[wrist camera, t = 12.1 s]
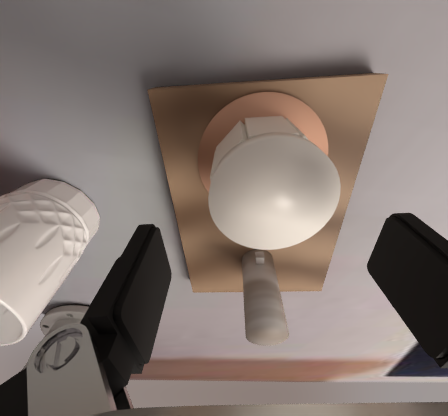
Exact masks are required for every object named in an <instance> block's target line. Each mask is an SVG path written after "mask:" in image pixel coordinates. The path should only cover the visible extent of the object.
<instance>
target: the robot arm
mask: <svg viewBox="0 0 448 416" xmlns="http://www.w3.org/2000/svg"><path fill="white" fill-rule="evenodd" d="M367 269H368V272H369V273H370V275H371V276H372V278H373V279H374V280H375V282H376V283H377V285H378V286H379V287H380V289H381V290H382V292H383V293H384V294H385V296H386V297H387V299H388V300H389V301H390V303H391V304H392V306H393V307H394V308H395V310H396V311H397V313H398V314H399V315H400V317H401V318H402V320H403V321H404V322H405V324H406V325H407V327H408V328H409V330H410V331H411V332H412V334H413V335H414V337H415V338H416V339H417V341H418V342H419V344H420V345H421V346H422V348H423V349H424V351H425V352H426V353H427V354H428V355H429V356H430V357H432V358H434V360H435V361H436V362H437V364H438V365H439V367H440V368H448V240H446V239H445V238H444V237H442V236H441V235H440V234H438V233H437V232H436V231H434V230H433V229H432V228H430V227H429V226H428V225H427V224H425V223H424V222H423V221H421V220H420V219H419V218H417V217H416V216H415V215H413V214H411V213H395V214H392V215H391V216H390V217H389V218H387V219H386V221H385V223H384V225H383V228H382V230H381V233H380V235H379V237H378V240H377V242H376V244H375V247H374V249H373V252H372V254H371V256H370V259H369V261H368V264H367ZM170 281H171V269H170V265H169V262H168V258H167V254H166V251H165V247H164V243H163V240H162V236H161V232H160V229H159V228H158V227H155V225H154V224H144V225H139V226H138V227H137V229H136V231H135V232H134V234H133V236H132V238H131V239H130V241H129V243H128V245H127V247H126V248H125V250H124V252H123V254H122V255H121V257H119V258H118V259H117V260H116V261H115V263H114V265H113V267H112V268H111V270H110V272H109V274H108V275H107V277H106V279H105V280H104V282H103V284H102V286H101V287H100V289H99V291H98V293H97V294H96V296H95V298H94V299H93V301H92V303H91V305H90V306H89V307H88V306H80V305H66V306H60V307H56V308H53V309H51V310H49V311H48V312H47V313H46V314H45V316H44V317H43V319H42V320H41V322H40V327H41V330H42V331H43V333H44V335H45V337H44V339H43V340H42V341H41V342H40V343H39V344H38V345H37V347H36V348H35V350H34V351H33V352H32V354H31V356H30V358H29V360H28V362H27V363H26V365H25V366H24V368H23V369H22V371H21V372H19V373H18V374H16V375H15V376H13V377H12V378H10V379H9V380H7V381H6V382H4V383H3V384H1V385H0V416H448V402H413V403H412V402H411V403H336V404H335V403H333V404H331V403H330V404H267V405H266V404H264V405H210V406H179V407H178V406H177V407H154V408H153V407H152V408H135V409H134V408H133V405H132V402H131V399H130V397H129V394H128V391H127V389H126V385H127V384H128V381H129V378H130V375H131V374H142V370H143V366H144V364H147V363H148V362H149V360H150V357H151V353H152V349H153V346H154V342H155V338H156V334H157V330H158V327H159V323H160V319H161V315H162V311H163V308H164V304H165V300H166V296H167V292H168V289H169V285H170Z"/></svg>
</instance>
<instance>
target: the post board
mask: <svg viewBox="0 0 448 416" xmlns="http://www.w3.org/2000/svg"><path fill="white" fill-rule="evenodd" d="M387 77H388V74H381V73H367V74H352V75H336V76H321V77H306V78H291V79H276V80H261V81H245V82H230V83H215V84H200V85H185V86H169V87H155V88H151V89H148V95H149V99H150V103H151V108H152V112H153V117H154V121H155V126H156V130H157V134H158V139H159V143H160V148H161V152H162V157H163V161H164V166H165V170H166V174H167V179H168V183H169V188H170V192H171V197H172V201H173V205H174V210H175V214H176V219H177V223H178V228H179V232H180V236H181V241H182V245H183V250H184V254H185V259H186V263H187V268H188V272H189V276H190V281H191V285H192V290H193V292H244V311H245V330H246V338H247V340H248V341H250V342H251V343H253V344H257V345H262V346H270V345H276V344H280V343H282V342H284V341H285V340H286V339H287V338H288V337H289V332H288V327H287V322H286V318H285V313H284V308H283V304H282V299H281V294H280V291H321V290H322V287H323V283H324V280H325V277H326V274H327V271H328V267H329V264H330V261H331V258H332V254H333V251H334V248H335V245H336V241H337V238H338V235H339V232H340V229H341V225H342V222H343V219H344V216H345V212H346V209H347V206H348V203H349V199H350V196H351V193H352V190H353V187H354V183H355V180H356V177H357V174H358V170H359V167H360V164H361V161H362V157H363V154H364V151H365V148H366V145H367V141H368V138H369V135H370V132H371V128H372V125H373V122H374V119H375V115H376V112H377V109H378V106H379V103H380V99H381V96H382V93H383V90H384V86H385V83H386V80H387ZM268 116H283V117H284V118H285V119H286V118H288V119H289V120H290V121H291V122H292V123H293V124H294V125H295V126H296V127H297V128H298V129H299V130H300V131H301V132H302V133H303V134H304V135H305V136H306V137H307V138H308V140H309V141H311V142H312V143H314V144H315V145H316V146H317V147H318V148H319V149H321V150H322V151H323V152H324V153H325V154H326V155H327V156H328V157H329V158H330V160H331V161H332V162H333V164H334V166H335V167H336V169H337V172H338V175H339V178H340V186H341V188H340V198H339V202H338V205H337V208H336V210H335V212H334V214H333V215H332V217H331V218H330V220H329V221H328V222H327V223H326V225H325V226H324V227H323V228H322V229H321V230H319V231H318V232H317V233H316V234H314V235H313V236H312V237H310V238H308V239H307V240H305V241H303V242H301V243H299V244H296V245H293V246H290V247H286V248H281V249H274V250H260V249H253V248H249V247H246V246H243V245H240V244H238V243H236V242H234V241H232V240H231V239H229V238H228V237H226V236H225V235H224V234H223V233H222V232H221V231H220V230H219V229H218V227H217V226H216V225H215V223H214V221H213V219H212V217H211V214H210V210H209V202H208V197H209V189H210V184H211V181H210V174H211V169H212V164H213V159H214V153H215V151H216V147H217V146H218V144H219V143H220V142H221V141H222V140H223V139H224V138H225V137H226V135H227V134H228V133H229V132H230V131H231V130H232V129H233V128H234V126H235V125H236V124H237V123H238V122H239V121H241V122H242V123H243V124H244V125H245V118H251V117H268Z"/></svg>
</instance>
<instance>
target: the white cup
mask: <svg viewBox="0 0 448 416" xmlns="http://www.w3.org/2000/svg"><path fill="white" fill-rule="evenodd" d="M99 222H100V216H99V214H98V211H97V209H96V207H95V205H94V203H93V202H92V201H91V200H90V199H89V198H88V197H87V196H86V195H85V194H84V193H83V192H82V191H80V190H78V189H77V188H75V187H73V186H71V185H69V184H67V183H65V182H62V181H56V180H50V179H41V180H37V181H34V182H30V183H28V184H26V185H24V186H22V187H20V188H18V189H17V190H15V191H13V192H11V193H8V194H5V195H3V196H0V346H5V345H10V344H14V343H17V342H19V341H21V340H22V339H23V338H24V337H25V336H26V334H27V333H28V332H29V330H30V329H31V327H32V326H33V324H34V323H35V322H36V320H37V319H38V317H39V316H40V314H41V313H42V312H43V310H44V309H45V307H46V306H47V305H48V303H49V302H50V300H51V299H52V297H53V296H54V295H55V293H56V292H57V290H58V289H59V288H60V286H61V285H62V283H63V282H64V280H65V279H66V278H67V276H68V275H69V273H70V271H71V270H72V268H73V266H74V265H75V264H76V262H77V261H78V259H79V258H80V257H81V255H82V253H83V251H84V249H85V247H86V246H87V244H88V243H89V241H90V240H91V239H92V237H93V236H94V235H95V233H96V232H97V230H98V229H99Z"/></svg>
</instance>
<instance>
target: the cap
mask: <svg viewBox="0 0 448 416" xmlns="http://www.w3.org/2000/svg"><path fill="white" fill-rule="evenodd" d="M210 181H211V184H210V189H209V197H208V202H209V210H210V214H211V217H212V219H213V221H214V223H215V225H216V226H217V227H218V229H219V230H220V231H221V232H222V233H223V234H224V235H225V236H226V237H228V238H229V239H231V240H232V241H234V242H236V243H238V244H240V245H243V246H246V247H249V248H253V249H260V250H274V249H281V248H286V247H290V246H293V245H296V244H299V243H301V242H303V241H305V240H307V239H308V238H310V237H312V236H313V235H314V234H316V233H317V232H318V231H319V230H321V229H322V228H323V227H324V226H325V225H326V223H327V222H328V221H329V220H330V218H331V217H332V215H333V214H334V212H335V210H336V208H337V205H338V202H339V198H340V188H341V186H340V178H339V175H338V172H337V169H336V167H335V166H334V164H333V162H332V161H331V160H330V158H329V157H328V156H327V155H326V154H325V153H324V152H323V151H322V150H321V149H319V148H318V147H317V146H316V145H315V144H314V143H312V142H311V141H309V140H308V138H307V137H306V136H305V135H304V134H303V133H302V132H301V131H300V130H299V129H298V128H297V127H296V126H295V125H294V124H293V123H292V122H291V121H290V120H289V119H288V118H286V119H285V118H284V117H283V116H268V117H251V118H245V125H244V124H243V123H242V122H241V121H239V122H238V123H237V124H236V125H235V126H234V128H233V129H232V130H231V131H230V132H229V133H228V134H227V135H226V137H225V138H224V139H223V140H222V141H221V142H220V143H219V144H218V146H217V147H216V151H215V153H214V159H213V164H212V169H211V174H210Z"/></svg>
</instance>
